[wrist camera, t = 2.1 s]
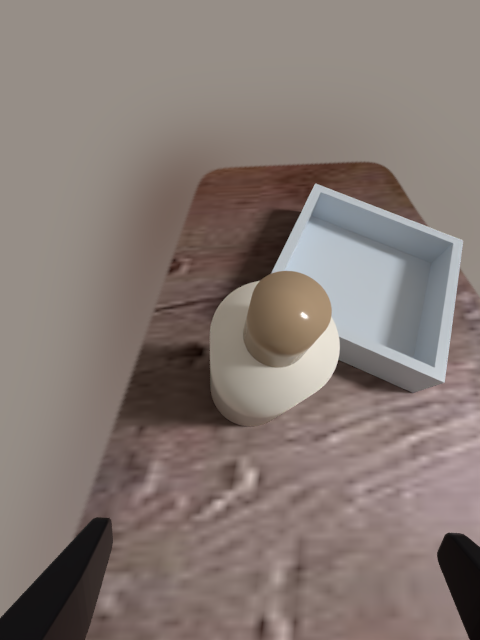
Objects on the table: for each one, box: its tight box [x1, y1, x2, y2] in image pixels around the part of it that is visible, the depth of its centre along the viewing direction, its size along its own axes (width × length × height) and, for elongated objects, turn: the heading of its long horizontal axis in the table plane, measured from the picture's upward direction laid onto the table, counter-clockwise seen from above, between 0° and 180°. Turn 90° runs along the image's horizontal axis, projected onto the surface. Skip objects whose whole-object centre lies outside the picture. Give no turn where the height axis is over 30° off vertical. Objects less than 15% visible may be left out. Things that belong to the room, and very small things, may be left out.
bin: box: [271, 184, 463, 393], centre depth 25 cm, size 14×14×4 cm
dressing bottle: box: [210, 271, 340, 427], centre depth 17 cm, size 6×6×13 cm
